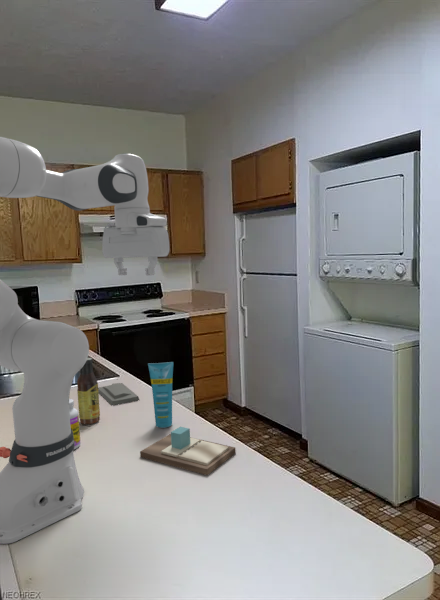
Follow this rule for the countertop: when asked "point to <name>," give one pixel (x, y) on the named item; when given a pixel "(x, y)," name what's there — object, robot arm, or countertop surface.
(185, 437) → the panel
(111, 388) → the soap mold
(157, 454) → the board
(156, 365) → the tube
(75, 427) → the supplement bottle
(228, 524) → the countertop surface
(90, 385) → the sauce bottle
